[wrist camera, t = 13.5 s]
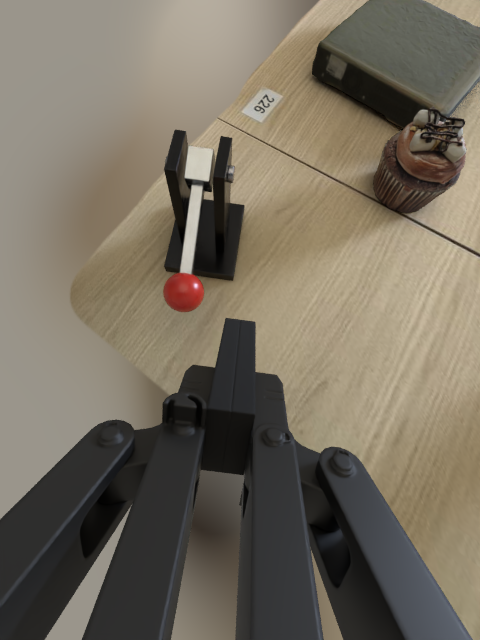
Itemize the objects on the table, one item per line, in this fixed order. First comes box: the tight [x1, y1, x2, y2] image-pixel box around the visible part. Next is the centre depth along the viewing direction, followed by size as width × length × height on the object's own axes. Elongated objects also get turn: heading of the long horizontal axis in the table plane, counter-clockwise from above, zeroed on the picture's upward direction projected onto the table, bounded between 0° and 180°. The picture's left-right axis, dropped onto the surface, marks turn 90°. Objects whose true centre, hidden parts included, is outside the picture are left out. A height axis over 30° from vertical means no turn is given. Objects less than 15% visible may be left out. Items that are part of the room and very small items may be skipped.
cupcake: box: [373, 106, 467, 213], centre depth 37 cm, size 10×10×10 cm
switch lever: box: [163, 145, 216, 312], centre depth 27 cm, size 14×4×4 cm, turn 173°
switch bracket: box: [164, 130, 244, 281], centre depth 32 cm, size 10×8×13 cm
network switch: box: [312, 0, 480, 129], centre depth 47 cm, size 23×23×5 cm
